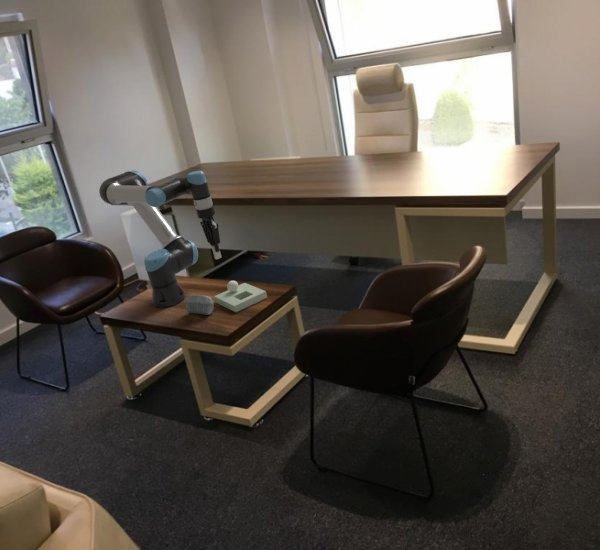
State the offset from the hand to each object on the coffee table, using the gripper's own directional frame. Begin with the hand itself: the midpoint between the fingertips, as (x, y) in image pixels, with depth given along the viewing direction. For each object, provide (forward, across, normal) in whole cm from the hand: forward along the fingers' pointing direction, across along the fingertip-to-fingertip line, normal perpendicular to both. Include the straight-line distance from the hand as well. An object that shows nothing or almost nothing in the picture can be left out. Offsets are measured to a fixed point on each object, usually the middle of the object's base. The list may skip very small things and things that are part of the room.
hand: (218, 258), depth 262 cm
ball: (+12, +7, 0) cm, 14 cm away
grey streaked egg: (+18, +7, -17) cm, 26 cm away
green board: (+18, +12, 0) cm, 21 cm away
